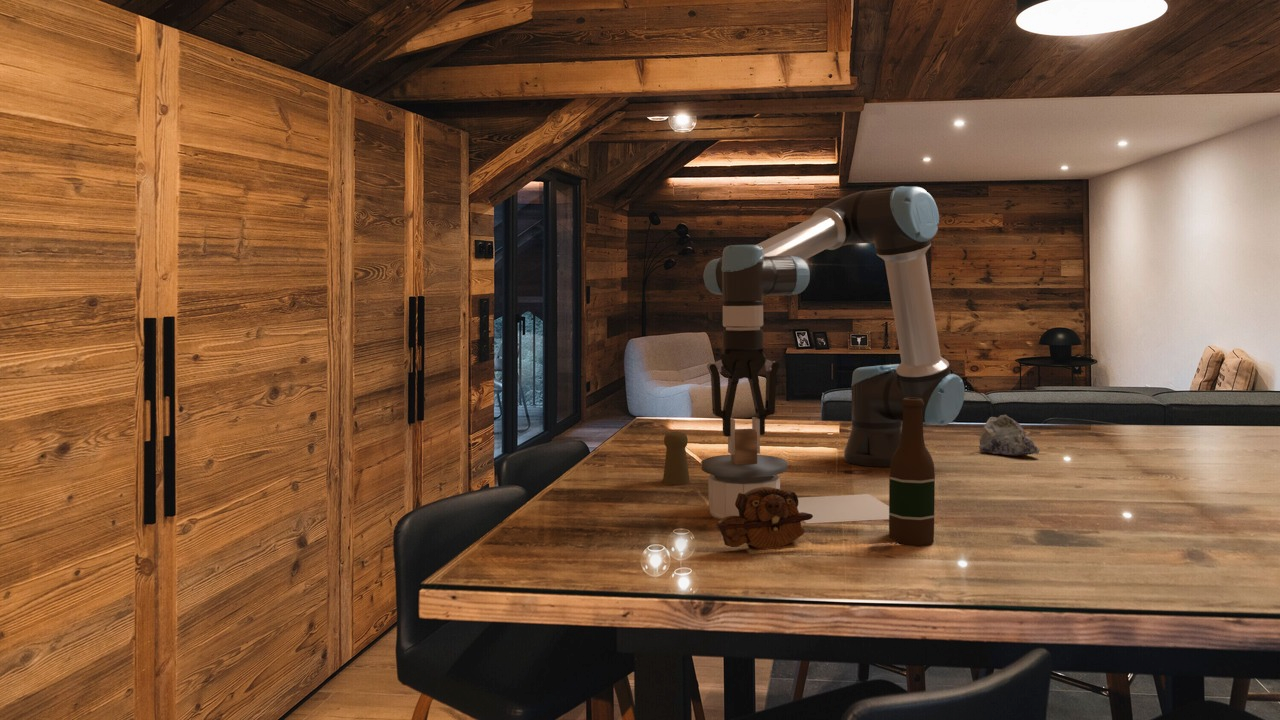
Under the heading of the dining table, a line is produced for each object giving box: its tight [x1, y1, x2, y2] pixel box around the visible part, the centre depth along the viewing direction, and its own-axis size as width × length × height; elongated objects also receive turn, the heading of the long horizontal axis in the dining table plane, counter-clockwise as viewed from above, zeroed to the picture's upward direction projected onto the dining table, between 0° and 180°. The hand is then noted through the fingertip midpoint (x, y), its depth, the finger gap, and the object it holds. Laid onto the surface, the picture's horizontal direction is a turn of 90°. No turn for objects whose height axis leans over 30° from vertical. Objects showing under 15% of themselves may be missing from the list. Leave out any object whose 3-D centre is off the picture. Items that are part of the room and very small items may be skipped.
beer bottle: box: [888, 397, 936, 547], centre depth 154 cm, size 8×8×24 cm
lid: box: [701, 428, 788, 478], centre depth 173 cm, size 16×16×7 cm
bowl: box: [707, 474, 781, 520], centre depth 174 cm, size 13×13×7 cm
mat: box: [797, 493, 889, 525], centre depth 175 cm, size 19×19×1 cm
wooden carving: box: [716, 487, 813, 549], centre depth 151 cm, size 16×5×10 cm, turn 110°
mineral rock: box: [978, 414, 1041, 457], centre depth 225 cm, size 13×11×10 cm
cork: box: [662, 431, 691, 486], centre depth 201 cm, size 6×6×11 cm
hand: (743, 452), depth 173 cm, fingers closed on lid, 4 cm apart
